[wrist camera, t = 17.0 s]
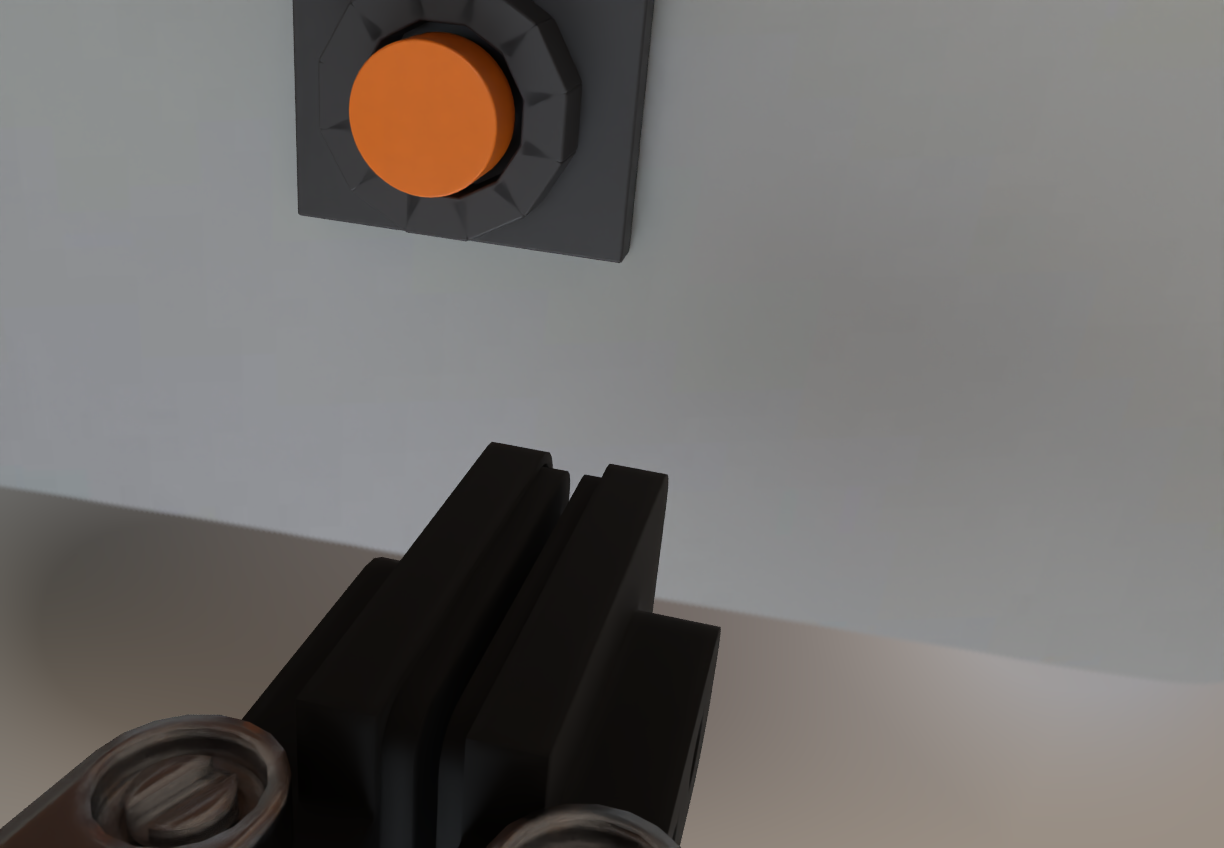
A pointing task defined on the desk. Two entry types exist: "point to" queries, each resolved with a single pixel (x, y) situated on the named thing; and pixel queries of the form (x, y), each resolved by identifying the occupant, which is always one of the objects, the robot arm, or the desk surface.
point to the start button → (431, 113)
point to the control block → (543, 131)
